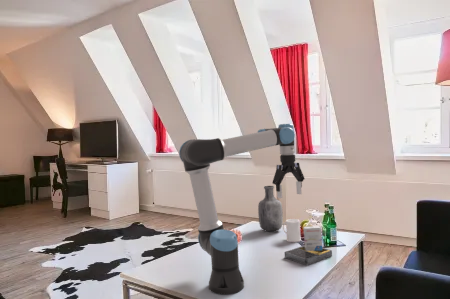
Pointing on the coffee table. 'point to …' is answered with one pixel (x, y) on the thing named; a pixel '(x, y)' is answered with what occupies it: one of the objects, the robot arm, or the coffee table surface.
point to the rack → (307, 255)
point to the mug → (292, 230)
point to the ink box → (313, 238)
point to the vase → (270, 211)
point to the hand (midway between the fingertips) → (289, 195)
